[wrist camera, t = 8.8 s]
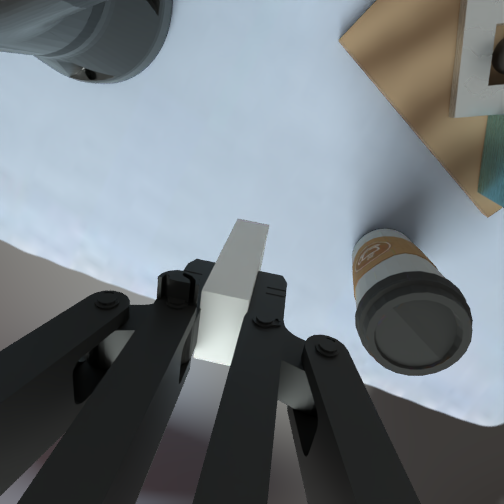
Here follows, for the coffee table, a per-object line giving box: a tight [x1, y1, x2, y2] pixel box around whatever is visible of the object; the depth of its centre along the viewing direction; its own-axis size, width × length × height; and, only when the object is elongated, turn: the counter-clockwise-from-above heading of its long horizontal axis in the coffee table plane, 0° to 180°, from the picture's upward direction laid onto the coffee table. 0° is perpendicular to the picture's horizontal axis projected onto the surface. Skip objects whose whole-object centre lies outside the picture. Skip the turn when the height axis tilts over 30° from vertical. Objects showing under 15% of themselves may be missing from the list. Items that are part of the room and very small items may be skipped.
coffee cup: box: [352, 229, 473, 376], centre depth 34 cm, size 8×8×15 cm
